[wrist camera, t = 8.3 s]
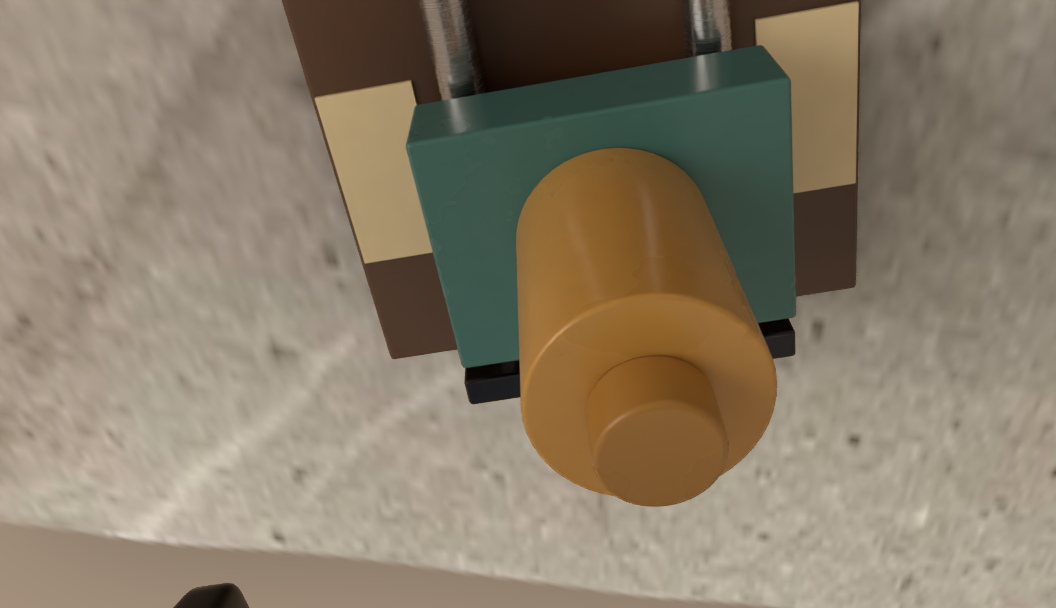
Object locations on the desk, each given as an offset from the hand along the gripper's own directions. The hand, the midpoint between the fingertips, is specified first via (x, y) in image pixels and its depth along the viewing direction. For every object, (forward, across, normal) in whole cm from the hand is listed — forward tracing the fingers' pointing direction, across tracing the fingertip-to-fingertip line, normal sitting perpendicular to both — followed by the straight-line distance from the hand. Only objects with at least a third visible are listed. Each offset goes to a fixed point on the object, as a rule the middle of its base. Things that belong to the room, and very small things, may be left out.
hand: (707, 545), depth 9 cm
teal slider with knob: (+9, 0, +1) cm, 9 cm away
